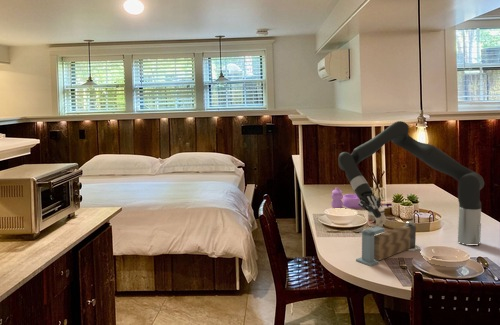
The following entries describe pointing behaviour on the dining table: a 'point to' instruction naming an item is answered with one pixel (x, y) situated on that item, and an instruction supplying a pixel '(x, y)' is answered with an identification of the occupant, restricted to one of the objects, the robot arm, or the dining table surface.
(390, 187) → the dining table surface
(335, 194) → the container set
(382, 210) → the teacup with lid
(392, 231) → the link
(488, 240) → the dining table surface
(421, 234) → the dining table surface
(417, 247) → the post
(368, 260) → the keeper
